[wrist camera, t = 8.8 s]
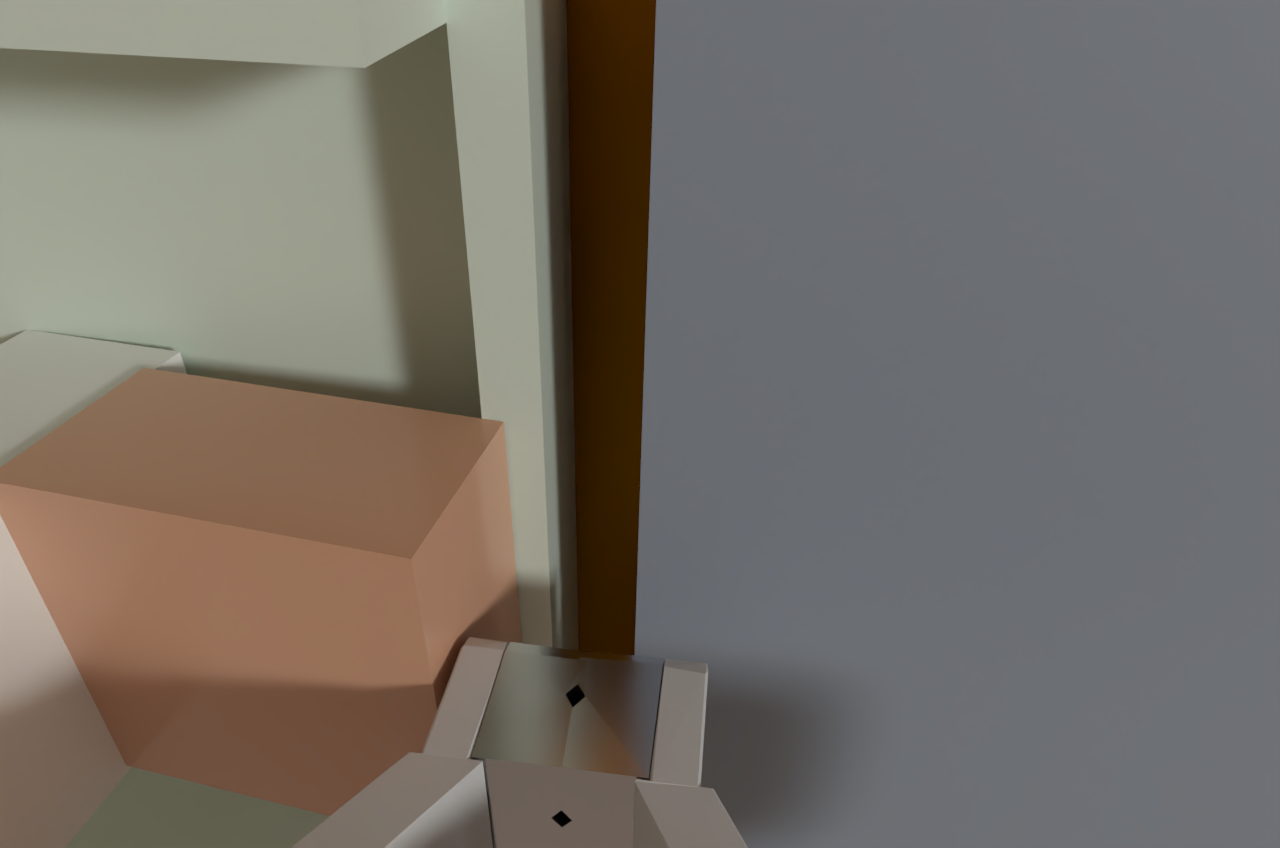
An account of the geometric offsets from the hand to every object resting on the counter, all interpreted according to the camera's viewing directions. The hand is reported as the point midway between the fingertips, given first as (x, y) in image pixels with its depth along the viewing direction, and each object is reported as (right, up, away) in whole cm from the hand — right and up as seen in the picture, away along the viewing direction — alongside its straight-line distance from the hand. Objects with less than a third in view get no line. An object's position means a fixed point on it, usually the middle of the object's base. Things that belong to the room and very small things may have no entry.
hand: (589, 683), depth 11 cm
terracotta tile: (-4, +1, +2) cm, 4 cm away
